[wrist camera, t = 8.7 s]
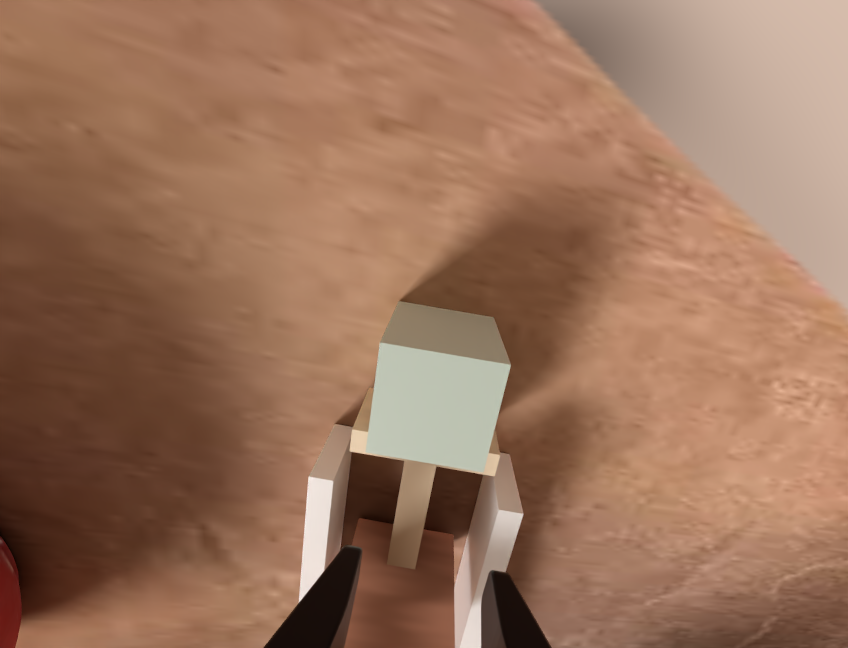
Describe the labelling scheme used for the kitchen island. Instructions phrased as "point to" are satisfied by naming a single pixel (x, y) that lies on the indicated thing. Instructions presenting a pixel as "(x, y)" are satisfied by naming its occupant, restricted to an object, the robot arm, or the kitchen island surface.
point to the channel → (482, 550)
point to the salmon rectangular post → (405, 562)
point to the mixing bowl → (9, 598)
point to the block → (438, 387)
